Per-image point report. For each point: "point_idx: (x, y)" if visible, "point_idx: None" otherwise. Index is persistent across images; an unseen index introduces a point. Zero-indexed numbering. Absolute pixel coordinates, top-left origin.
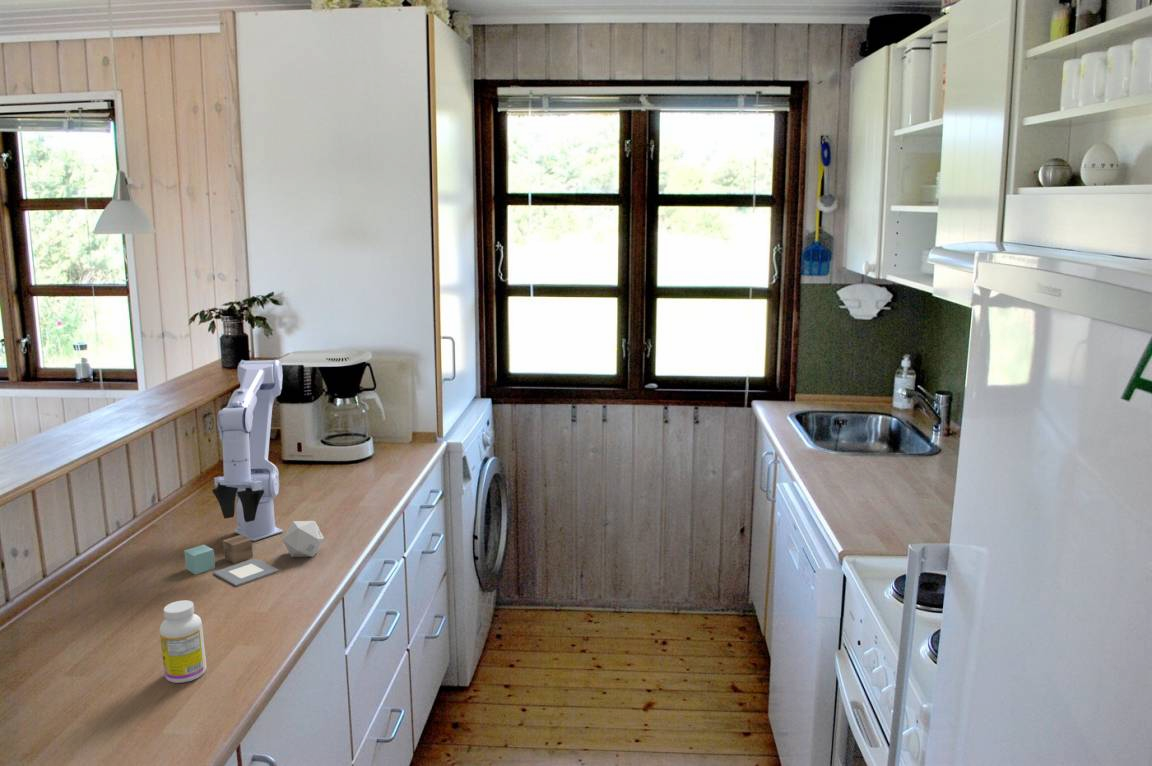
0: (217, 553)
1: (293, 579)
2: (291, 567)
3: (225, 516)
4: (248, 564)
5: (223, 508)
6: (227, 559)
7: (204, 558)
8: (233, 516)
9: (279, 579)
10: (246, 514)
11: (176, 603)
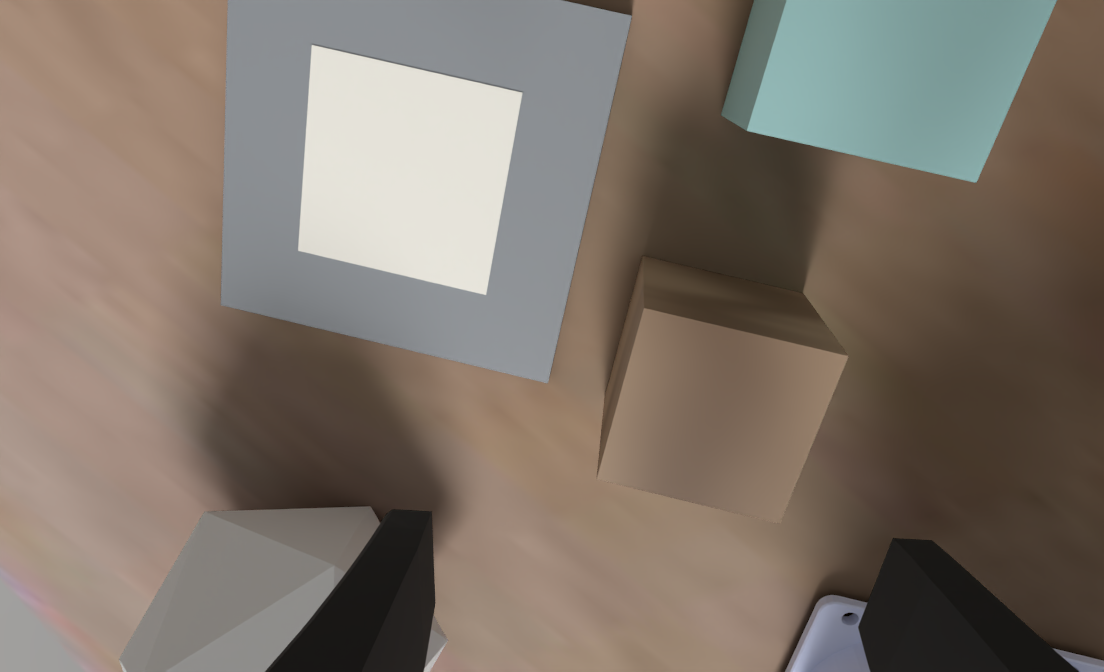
0: (942, 336)
1: (40, 253)
2: (224, 387)
3: (910, 560)
4: (495, 274)
5: (994, 662)
6: (757, 283)
7: (771, 14)
8: (859, 631)
9: (110, 207)
10: (335, 592)
11: None
